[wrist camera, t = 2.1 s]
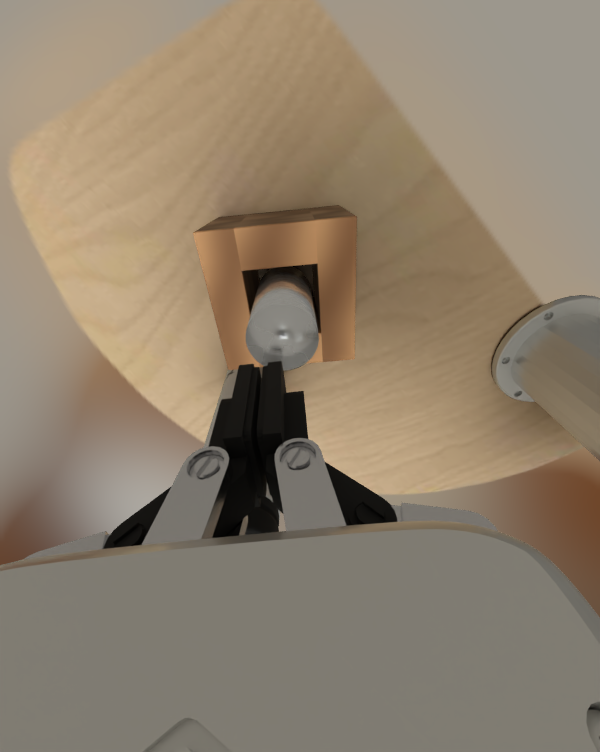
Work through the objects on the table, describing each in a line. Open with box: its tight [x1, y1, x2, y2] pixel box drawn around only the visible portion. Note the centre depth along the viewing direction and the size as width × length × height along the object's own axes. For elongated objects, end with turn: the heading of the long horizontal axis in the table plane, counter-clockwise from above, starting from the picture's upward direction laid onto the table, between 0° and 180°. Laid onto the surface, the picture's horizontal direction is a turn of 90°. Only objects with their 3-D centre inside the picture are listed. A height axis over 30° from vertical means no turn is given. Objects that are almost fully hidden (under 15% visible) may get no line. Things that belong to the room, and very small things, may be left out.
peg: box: [246, 266, 319, 370], centre depth 20 cm, size 4×4×8 cm
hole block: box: [193, 205, 357, 370], centre depth 24 cm, size 10×10×8 cm
